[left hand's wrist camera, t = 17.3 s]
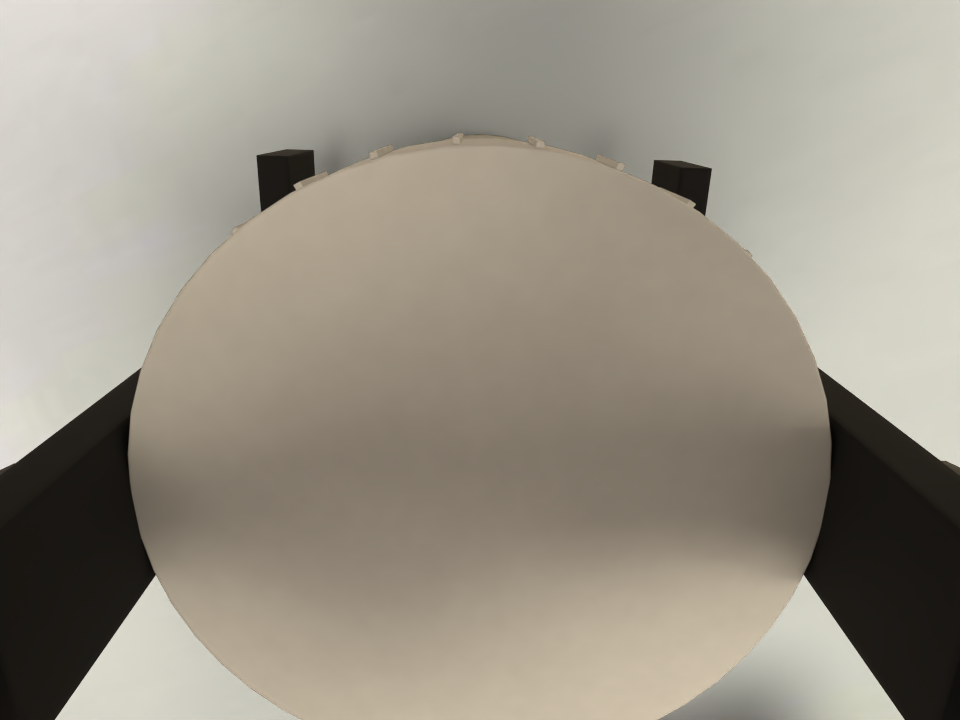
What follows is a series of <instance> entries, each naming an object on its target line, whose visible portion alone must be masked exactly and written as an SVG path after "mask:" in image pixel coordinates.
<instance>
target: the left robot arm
mask: <svg viewBox="0 0 960 720" xmlns="http://www.w3.org/2000/svg"><path fill="white" fill-rule="evenodd" d="M817 368H818V367H817ZM140 371H141V368H140V369H139V370H138V371H137V372H135V373H134V374H133V375H131V376H130V377H129V378H127V379H126V380H125V381H123V382H122V383H121V384H119V385H118V386H117V387H115V388H114V389H113V390H112V391H110V392H109V393H108V394H106V395H105V396H104V397H102V398H101V399H100V400H98V401H97V402H96V403H94V404H93V405H92V406H91V407H89V408H88V409H87V410H85V411H84V412H83V413H81V414H80V415H79V416H77V417H76V418H75V419H73V420H72V421H71V422H69V423H68V424H67V425H66V426H64V427H63V428H62V429H60V430H59V431H58V432H56V433H55V434H54V435H52V436H51V437H50V438H48V439H47V440H46V441H44V442H43V443H42V444H41V445H39V446H38V447H37V448H35V449H34V450H33V451H31V452H30V453H29V454H27V455H26V456H25V457H23V458H22V459H21V460H19V461H18V462H17V463H14V464H12V465H10V466H8V467H6V468H4V469H1V470H0V720H55V719H56V717H57V716H58V714H59V713H60V711H61V710H62V709H63V707H64V706H65V704H66V703H67V701H68V700H69V698H70V697H71V696H72V694H73V693H74V691H75V690H76V688H77V687H78V686H79V684H80V683H81V681H82V680H83V678H84V677H85V676H86V674H87V673H88V671H89V670H90V668H91V667H92V666H93V664H94V663H95V661H96V660H97V658H98V657H99V655H100V654H101V653H102V651H103V650H104V648H105V647H106V645H107V644H108V643H109V641H110V640H111V638H112V637H113V635H114V634H115V633H116V631H117V630H118V628H119V627H120V625H121V624H122V622H123V621H124V620H125V618H126V617H127V615H128V614H129V612H130V611H131V610H132V608H133V607H134V605H135V604H136V602H137V601H138V600H139V598H140V597H141V595H142V594H143V592H144V591H145V590H146V588H147V587H148V585H149V584H150V582H151V581H152V579H153V578H154V577H155V575H156V574H155V572H154V570H153V568H152V565H151V562H150V560H149V557H148V554H147V552H146V549H145V547H144V544H143V541H142V539H141V535H140V531H139V526H138V521H137V517H136V512H135V507H134V502H133V498H132V492H131V487H130V479H129V466H128V443H129V430H130V417H131V410H132V405H133V401H134V397H135V392H136V388H137V384H138V380H139V375H140ZM818 371H819V375H820V378H821V382H822V385H823V389H824V392H825V396H826V400H827V408H828V416H829V424H830V432H831V441H832V449H831V478H830V484H829V489H828V494H827V499H826V504H825V509H824V514H823V519H822V524H821V528H820V533H819V536H818V539H817V542H816V545H815V548H814V551H813V554H812V557H811V560H810V562H809V564H808V566H807V568H806V570H805V572H804V576H805V577H806V579H807V580H808V582H809V583H810V584H811V586H812V587H813V589H814V590H815V592H816V593H817V594H818V596H819V597H820V599H821V600H822V602H823V603H824V604H825V606H826V607H827V609H828V610H829V612H830V613H831V614H832V616H833V617H834V619H835V620H836V622H837V623H838V625H839V626H840V627H841V629H842V630H843V632H844V633H845V635H846V636H847V637H848V639H849V640H850V642H851V643H852V645H853V646H854V647H855V649H856V650H857V652H858V653H859V655H860V656H861V658H862V659H863V660H864V662H865V663H866V665H867V666H868V668H869V669H870V670H871V672H872V673H873V675H874V676H875V678H876V679H877V680H878V682H879V683H880V685H881V686H882V688H883V689H884V690H885V692H886V693H887V695H888V696H889V698H890V699H891V701H892V702H893V703H894V705H895V706H896V708H897V709H898V711H899V712H900V713H901V715H902V716H903V718H904V719H905V720H960V467H958V466H955V465H953V464H951V463H949V462H947V461H940V460H939V459H937V458H936V457H935V456H933V455H932V454H931V453H930V452H928V451H927V450H926V449H924V448H923V447H922V446H920V445H919V444H918V443H916V442H915V441H914V440H912V439H911V438H910V437H908V436H907V435H906V434H905V433H903V432H902V431H901V430H899V429H898V428H897V427H895V426H894V425H893V424H891V423H890V422H889V421H887V420H886V419H885V418H884V417H882V416H881V415H880V414H878V413H877V412H876V411H874V410H873V409H872V408H870V407H869V406H868V405H866V404H865V403H864V402H862V401H861V400H860V399H859V398H857V397H856V396H855V395H853V394H852V393H851V392H849V391H848V390H847V389H845V388H844V387H843V386H841V385H840V384H839V383H837V382H836V381H835V380H834V379H832V378H831V377H830V376H828V375H827V374H826V373H824V372H823V371H822V370H820V369H819V368H818Z"/></svg>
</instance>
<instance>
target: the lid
mask: <svg viewBox="0 0 960 720" xmlns="http://www.w3.org/2000/svg"><path fill="white" fill-rule="evenodd" d="M369 155H370V158H367V159H364V160H362V161H360V162H357V163H355V164H353V165H350V166H348V167H345V168H343V169H341V170H338V171H336V172H334V173H332V174H330V175H328V173H327V172H326V171H325V172H323V173H320V174H318V175H315V176H313V177H310V178H308V179H305V180H302V181H300V182H298V183H296V184H294V187H295V189H296V191H293V192H291V193H290V194H288V195H287V196H285V197H284V198H282V199H281V200H279V201H277V202H276V203H274V204H273V205H271V206H270V207H268V208H267V209H265V210H264V211H262V212H261V213H259V214H258V215H256V216H255V217H253V218H252V219H250V220H249V221H247V222H245V223H243V224H241V225H239V226H237V227H235V228H234V229H233V230H232V231H231V233H232V234H233V235H232V236H230V237H229V238H228V239H227V240H226V241H225V242H224V243H223V244H221V245H220V246H219V247H218V248H217V249H216V250H215V251H214V252H212V253H211V254H210V256H209V257H208V258H207V259H206V260H205V262H204V263H203V264H202V265H201V267H200V268H199V269H198V270H197V271H196V273H195V274H194V275H193V276H192V277H191V279H190V280H189V281H188V282H187V283H186V284H185V286H184V287H183V288H182V289H181V291H180V292H179V294H178V296H177V297H176V299H175V301H174V302H173V304H172V306H171V307H170V309H169V311H168V312H167V314H166V316H165V317H164V319H163V321H162V322H161V324H160V326H159V327H158V329H157V331H156V334H155V336H154V339H153V341H152V344H151V346H150V349H149V351H148V354H147V356H146V358H145V361H144V363H143V366H142V368H141V371H140V375H139V380H138V384H137V388H136V392H135V397H134V401H133V405H132V410H131V417H130V430H129V443H128V466H129V479H130V487H131V492H132V498H133V502H134V507H135V512H136V517H137V521H138V526H139V531H140V535H141V539H142V541H143V544H144V547H145V549H146V552H147V554H148V557H149V560H150V562H151V565H152V568H153V570H154V572H155V574H156V576H157V578H158V579H159V581H160V583H161V585H162V587H163V588H164V590H165V592H166V594H167V596H168V598H169V599H170V601H171V603H172V605H173V606H174V608H175V609H176V610H177V612H178V613H179V614H180V616H181V617H182V618H183V620H184V621H185V623H186V624H187V625H188V627H189V628H190V629H191V631H192V632H193V634H194V635H195V636H196V637H197V638H198V639H199V640H200V641H201V643H202V644H203V645H204V646H205V647H206V648H207V649H208V650H209V651H210V652H211V653H212V654H213V655H214V656H215V657H216V658H217V660H218V661H219V662H220V663H221V664H222V665H223V666H225V667H226V668H227V669H228V670H229V671H231V672H232V673H233V674H234V675H235V676H237V677H238V678H239V679H240V680H241V681H243V682H244V683H245V684H246V685H247V686H248V687H250V688H251V689H252V690H254V691H255V692H257V693H258V694H260V695H261V696H263V697H264V698H266V699H267V700H269V701H270V702H272V703H273V704H275V705H276V706H278V707H279V708H281V709H282V710H284V711H286V712H288V713H290V714H292V715H294V716H296V717H297V718H299V719H301V720H659V719H660V718H662V717H664V716H666V715H668V714H669V713H671V712H673V711H675V710H676V709H678V708H680V707H682V706H684V705H685V704H687V703H688V702H690V701H691V700H693V699H694V698H695V697H697V696H698V695H700V694H701V693H702V692H704V691H705V690H707V689H708V688H709V687H711V686H712V685H714V684H715V683H716V682H718V681H719V680H720V679H721V678H722V677H723V676H724V675H726V674H727V673H728V672H729V671H730V670H731V669H732V668H733V667H734V666H736V665H737V664H738V663H739V662H740V661H741V660H742V659H743V658H744V657H745V656H747V654H748V653H749V652H750V651H751V650H752V649H753V648H754V646H755V645H756V644H757V643H758V642H759V641H760V640H761V638H762V637H763V636H764V635H765V634H766V633H767V632H768V630H769V629H770V628H771V627H772V625H773V624H774V623H775V621H776V620H777V618H778V617H779V615H780V614H781V612H782V611H783V609H784V608H785V606H786V605H787V603H788V602H789V600H790V599H791V597H792V596H793V594H794V592H795V590H796V588H797V586H798V584H799V582H800V580H801V578H802V576H803V574H804V572H805V570H806V568H807V566H808V564H809V562H810V560H811V557H812V554H813V551H814V548H815V545H816V542H817V539H818V536H819V533H820V528H821V524H822V519H823V514H824V509H825V504H826V499H827V494H828V489H829V484H830V478H831V449H832V441H831V432H830V424H829V416H828V408H827V400H826V396H825V392H824V389H823V385H822V382H821V378H820V375H819V371H818V368H817V364H816V361H815V358H814V355H813V353H812V351H811V349H810V347H809V344H808V342H807V340H806V338H805V336H804V334H803V331H802V329H801V327H800V325H799V323H798V321H797V318H796V317H795V315H794V314H793V312H792V311H791V309H790V308H789V306H788V305H787V303H786V302H785V300H784V299H783V297H782V296H781V294H780V293H779V291H778V290H777V288H776V286H775V285H774V283H773V282H772V280H771V279H770V278H769V277H768V276H767V275H766V273H765V272H764V271H763V270H762V269H761V268H760V267H759V266H758V265H757V264H756V262H755V261H754V260H753V259H752V258H751V257H752V255H751V254H750V252H749V251H747V250H745V249H744V248H742V247H741V246H740V245H739V244H738V243H737V242H736V241H735V240H733V239H732V238H731V237H730V236H728V235H727V234H726V233H725V232H724V231H722V230H721V229H720V228H719V227H717V226H716V225H715V224H714V223H712V222H711V221H710V220H709V219H708V218H706V217H705V216H704V215H703V214H701V213H700V212H699V211H697V210H695V209H694V206H695V205H696V204H695V203H694V202H692V201H691V200H689V199H686V198H684V197H682V196H679V195H677V194H675V193H672V192H670V191H668V190H665V189H663V188H661V187H657V186H655V185H653V184H651V183H648V182H646V181H643V180H641V179H639V178H636V177H634V176H632V175H629V174H627V173H625V172H622V171H623V169H624V167H625V165H624V164H622V163H619V162H617V161H614V160H611V159H609V158H606V157H603V156H601V155H597V158H596V160H594V159H591V158H589V157H586V156H584V155H581V154H578V153H574V152H570V151H566V150H562V149H559V148H555V147H551V146H547V145H545V142H544V141H542V140H540V139H538V138H536V137H531V136H529V137H528V142H522V141H514V140H505V139H497V138H487V139H463V133H456V134H455V135H454V136H453V137H452V139H449V140H443V141H437V142H431V143H424V144H418V145H412V146H406V147H403V148H400V149H397V150H393V147H392V145H389V146H385V147H383V148H380V149H377V150H375V151H372V152H369Z"/></svg>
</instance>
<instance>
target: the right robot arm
mask: <svg viewBox="0 0 960 720" xmlns="http://www.w3.org/2000/svg"><path fill="white" fill-rule="evenodd" d="M257 167H258V179H259V191H260V203H261V212H262V211H264V210H265V209H267V208H268V207H270V206H271V205H273V204H274V203H276V202H277V201H279V200H281V199H282V198H284V197H285V196H287V195H288V194H290V193H291V192H293V191H296V189H295V187H294V184H296V183H298V182H300V181H302V180H305V179H308V178H310V177H313V176H315V170H314V151H313V150H289V149H286V150H281V151H276V152H271V153H266V154H261V155H257ZM711 171H712V169H711V168H707V167H703V166H699V165H695V164H691V163H687V162H683V161H668V160H654V166H653V175H652V184H653V185H655V186H657V187H661V188H663V189H665V190H668V191H670V192H672V193H675V194H677V195H679V196H682V197H684V198H686V199H689V200H691V201H692V202H694V203H695V204H696V205H695V206H694V209H695V210H697V211H699V212H700V213H701V214H703V215H704V216H705V213H706V206H707V199H708V192H709V185H710V178H711Z"/></svg>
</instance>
